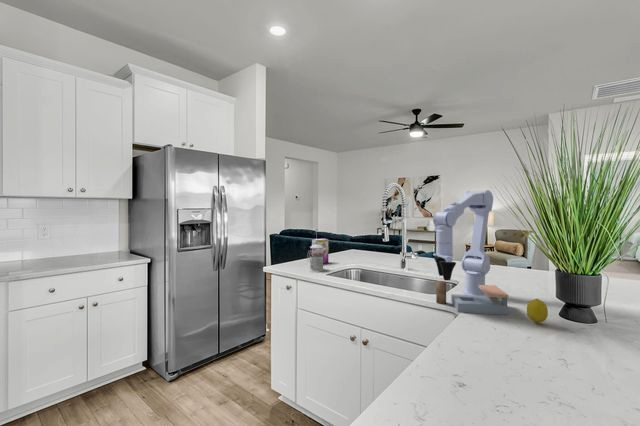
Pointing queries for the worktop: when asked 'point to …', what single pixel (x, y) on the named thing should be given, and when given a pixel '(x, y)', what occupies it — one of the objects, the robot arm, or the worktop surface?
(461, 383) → the worktop surface
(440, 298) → the peg
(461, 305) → the socket block
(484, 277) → the robot arm
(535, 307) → the lemon
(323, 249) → the candy bar box
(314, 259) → the french press
